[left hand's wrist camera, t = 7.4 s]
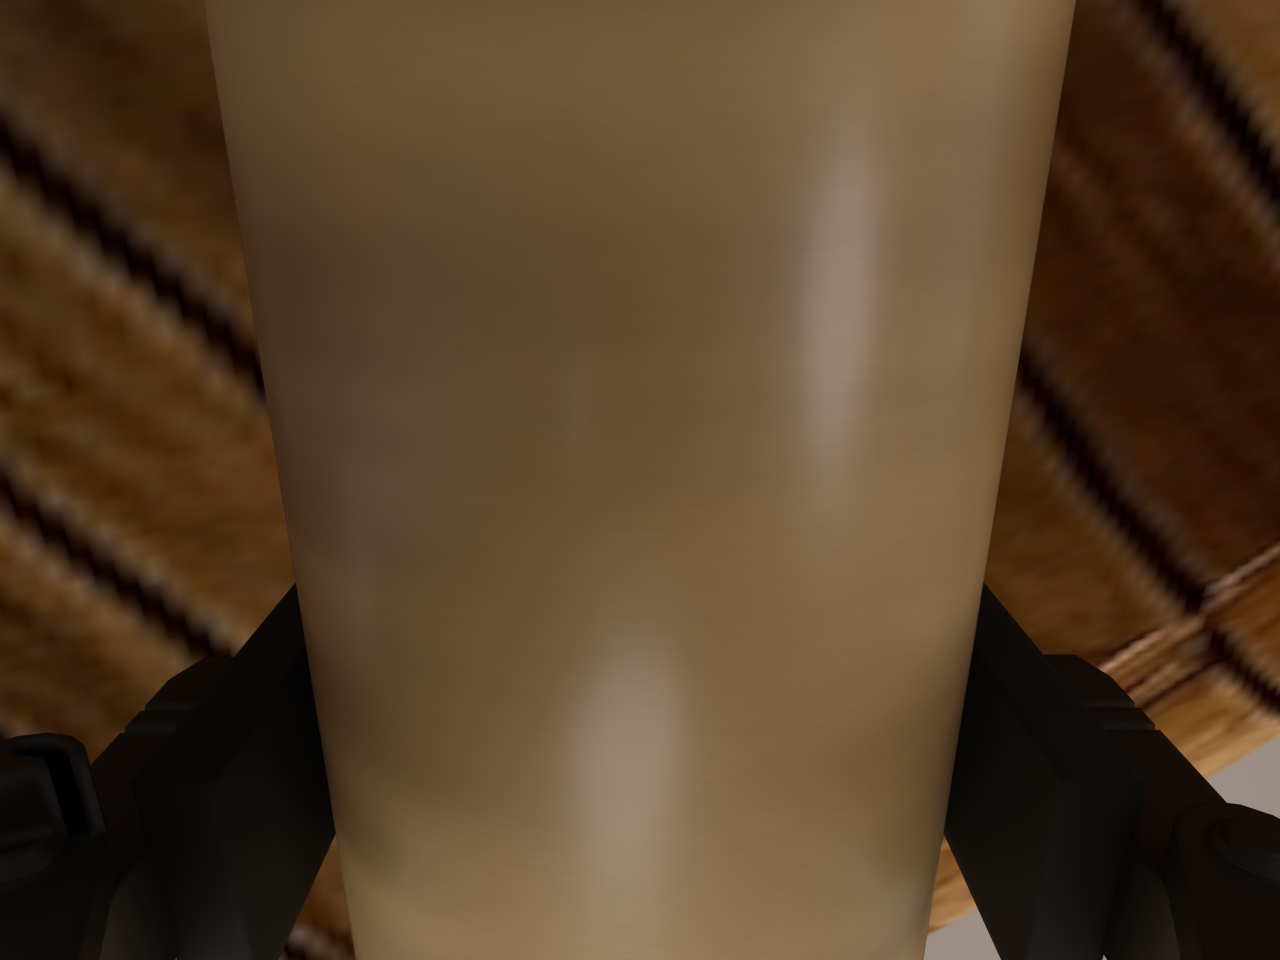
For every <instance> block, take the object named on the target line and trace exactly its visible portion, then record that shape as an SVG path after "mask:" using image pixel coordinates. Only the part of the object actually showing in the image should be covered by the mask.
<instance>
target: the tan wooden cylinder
mask: <svg viewBox="0 0 1280 960" xmlns="http://www.w3.org/2000/svg"><path fill="white" fill-rule="evenodd" d="M1075 3H1076V0H203V4H204V11H205V17H206V23H207V29H208V36H209V42H210V48H211V55H212V61H213V67H214V73H215V80H216V86H217V92H218V98H219V105H220V111H221V117H222V123H223V130H224V136H225V142H226V149H227V155H228V161H229V167H230V174H231V180H232V186H233V192H234V199H235V205H236V211H237V217H238V224H239V230H240V236H241V242H242V249H243V255H244V261H245V268H246V274H247V280H248V286H249V293H250V299H251V305H252V311H253V318H254V324H255V330H256V336H257V343H258V349H259V355H260V362H261V368H262V374H263V380H264V387H265V393H266V399H267V405H268V412H269V418H270V424H271V430H272V437H273V443H274V449H275V456H276V462H277V468H278V474H279V481H280V487H281V493H282V499H283V506H284V512H285V518H286V524H287V531H288V537H289V543H290V549H291V556H292V562H293V568H294V575H295V581H296V587H297V593H298V600H299V606H300V612H301V618H302V625H303V631H304V637H305V643H306V650H307V656H308V662H309V669H310V675H311V681H312V687H313V694H314V700H315V706H316V712H317V719H318V725H319V731H320V737H321V744H322V750H323V756H324V762H325V769H326V775H327V781H328V788H329V794H330V800H331V806H332V813H333V819H334V825H335V831H336V838H337V844H338V850H339V856H340V863H341V869H342V875H343V882H344V888H345V894H346V900H347V907H348V913H349V919H350V925H351V932H352V938H353V944H354V950H355V957H356V960H923V958H924V952H925V945H926V939H927V933H928V927H929V920H930V914H931V908H932V901H933V895H934V889H935V883H936V876H937V870H938V864H939V857H940V851H941V845H942V839H943V832H944V826H945V820H946V813H947V807H948V801H949V795H950V788H951V782H952V776H953V769H954V763H955V757H956V751H957V744H958V738H959V732H960V725H961V719H962V713H963V707H964V700H965V694H966V688H967V681H968V675H969V669H970V663H971V656H972V650H973V644H974V637H975V631H976V625H977V619H978V612H979V606H980V600H981V594H982V587H983V581H984V575H985V568H986V562H987V556H988V550H989V543H990V537H991V531H992V524H993V518H994V512H995V506H996V499H997V493H998V487H999V480H1000V474H1001V468H1002V462H1003V455H1004V449H1005V443H1006V436H1007V430H1008V424H1009V418H1010V411H1011V405H1012V399H1013V392H1014V386H1015V380H1016V374H1017V367H1018V361H1019V355H1020V348H1021V342H1022V336H1023V330H1024V323H1025V317H1026V311H1027V304H1028V298H1029V292H1030V286H1031V279H1032V273H1033V267H1034V260H1035V254H1036V248H1037V242H1038V235H1039V229H1040V223H1041V216H1042V210H1043V204H1044V198H1045V191H1046V185H1047V179H1048V173H1049V166H1050V160H1051V154H1052V147H1053V141H1054V135H1055V129H1056V122H1057V116H1058V110H1059V103H1060V97H1061V91H1062V85H1063V78H1064V72H1065V66H1066V59H1067V53H1068V47H1069V41H1070V34H1071V28H1072V22H1073V15H1074V9H1075Z"/></svg>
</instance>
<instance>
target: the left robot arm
mask: <svg viewBox="0 0 1280 960" xmlns="http://www.w3.org/2000/svg"><path fill="white" fill-rule="evenodd" d="M943 833H944V835H945V837H946V840H947V842H948V844H949V846H950V848H951V851H952V853H953V855H954V857H955V859H956V862H957V864H958V866H959V868H960V870H961V873H962V875H963V877H964V879H965V881H966V884H967V886H968V888H969V890H970V892H971V895H972V897H973V899H974V901H975V903H976V906H977V908H978V910H979V912H980V914H981V916H982V919H983V921H984V923H985V925H986V928H987V930H988V932H989V934H990V936H991V939H992V941H993V943H994V945H995V947H996V950H997V952H998V954H999V956H1000V958H1001V960H1102V959H1103V955H1105V957H1106V959H1107V960H1280V819H1279V818H1277V817H1275V816H1273V815H1270V814H1267V813H1264V812H1261V811H1258V810H1255V809H1252V808H1249V807H1246V806H1243V805H1239V804H1232V803H1227V802H1226V801H1225V800H1224V799H1223V798H1222V797H1221V796H1220V795H1219V794H1218V793H1217V792H1216V790H1215V789H1214V788H1213V787H1212V786H1211V785H1210V784H1209V783H1208V782H1207V781H1206V780H1205V778H1204V777H1203V776H1202V775H1201V774H1200V773H1199V772H1198V771H1197V770H1196V769H1195V768H1194V767H1193V765H1192V764H1191V763H1190V762H1189V761H1188V760H1187V759H1186V758H1185V757H1184V756H1183V755H1182V754H1181V752H1180V751H1179V750H1178V749H1177V748H1176V747H1175V746H1174V745H1173V744H1172V743H1171V742H1170V740H1169V739H1168V738H1167V737H1166V736H1165V735H1164V734H1163V733H1162V732H1161V731H1160V730H1155V724H1154V723H1153V722H1152V721H1151V720H1150V719H1149V718H1148V717H1147V715H1146V714H1145V713H1144V712H1143V711H1142V710H1141V709H1140V708H1135V702H1134V701H1133V700H1132V699H1131V698H1130V697H1129V696H1128V695H1127V694H1126V693H1125V692H1124V691H1123V689H1122V688H1121V687H1120V686H1119V685H1118V684H1117V683H1116V682H1115V681H1114V680H1113V679H1112V677H1110V676H1109V675H1107V674H1106V673H1104V672H1102V671H1101V670H1099V669H1097V668H1096V667H1094V666H1093V665H1091V664H1089V663H1088V662H1086V661H1084V660H1083V659H1081V658H1080V657H1078V656H1076V655H1043V654H1042V652H1041V651H1040V650H1039V649H1038V648H1037V646H1036V645H1035V644H1034V643H1033V642H1032V640H1031V639H1030V638H1029V637H1028V636H1027V634H1026V633H1025V632H1024V631H1023V629H1022V628H1021V627H1020V626H1019V625H1018V623H1017V622H1016V621H1015V620H1014V619H1013V617H1012V616H1011V615H1010V614H1009V612H1008V611H1007V610H1006V609H1005V608H1004V606H1003V605H1002V604H1001V603H1000V602H999V600H998V599H997V598H996V597H995V595H994V594H993V593H992V592H991V591H990V589H989V588H988V587H987V586H986V585H985V583H984V582H983V587H982V594H981V600H980V606H979V612H978V619H977V625H976V631H975V637H974V644H973V650H972V656H971V663H970V669H969V675H968V681H967V688H966V694H965V700H964V707H963V713H962V719H961V725H960V732H959V738H958V744H957V751H956V757H955V763H954V769H953V776H952V782H951V788H950V795H949V801H948V807H947V813H946V820H945V826H944V832H943ZM335 834H336V831H335V825H334V819H333V813H332V806H331V800H330V794H329V788H328V781H327V775H326V769H325V762H324V756H323V750H322V744H321V737H320V731H319V725H318V719H317V712H316V706H315V700H314V694H313V687H312V681H311V675H310V669H309V662H308V656H307V650H306V643H305V637H304V631H303V625H302V618H301V612H300V606H299V600H298V593H297V587H296V583H295V584H294V585H293V586H292V587H291V589H290V590H289V591H288V592H287V594H286V595H285V596H284V597H283V598H282V600H281V601H280V602H279V603H278V604H277V606H276V607H275V608H274V609H273V611H272V612H271V613H270V614H269V615H268V617H267V618H266V619H265V620H264V621H263V623H262V624H261V625H260V626H259V627H258V629H257V630H256V631H255V632H254V634H253V635H252V636H251V637H250V638H249V640H248V641H247V642H246V643H245V644H244V646H243V647H242V648H241V649H240V651H239V652H238V653H237V654H236V655H235V657H205V658H203V659H202V660H200V661H198V662H197V663H195V664H194V665H192V666H190V667H189V668H187V669H186V670H184V671H182V672H181V673H179V674H177V675H176V676H174V677H173V678H171V679H169V680H168V681H167V683H166V684H165V685H164V686H163V687H162V688H161V689H160V690H159V691H158V692H157V693H156V695H155V696H154V697H153V698H152V699H151V700H150V701H149V702H148V703H147V704H146V705H145V711H140V712H139V713H138V714H137V715H136V716H135V717H134V719H133V720H132V721H131V722H130V723H129V724H128V725H127V726H126V727H125V733H120V734H119V735H118V736H117V737H116V738H115V739H114V740H113V742H112V743H111V744H110V745H109V746H108V747H107V748H106V749H105V750H104V751H103V752H102V754H101V755H100V756H99V757H98V758H97V759H96V760H95V761H94V762H93V763H92V765H91V766H90V763H89V760H88V756H87V752H86V749H85V745H83V744H82V743H80V742H79V741H78V740H76V739H75V738H73V737H72V736H69V735H61V734H54V733H40V734H32V735H23V736H16V737H13V738H10V739H6V740H3V741H0V960H175V959H176V958H177V960H278V959H279V957H280V955H281V953H282V950H283V948H284V946H285V944H286V942H287V939H288V937H289V935H290V933H291V931H292V928H293V926H294V924H295V922H296V920H297V917H298V915H299V913H300V911H301V909H302V906H303V904H304V902H305V900H306V898H307V895H308V893H309V891H310V889H311V887H312V884H313V882H314V880H315V878H316V876H317V873H318V871H319V869H320V867H321V865H322V862H323V860H324V858H325V856H326V854H327V851H328V849H329V847H330V845H331V843H332V840H333V838H334V836H335Z"/></svg>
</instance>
